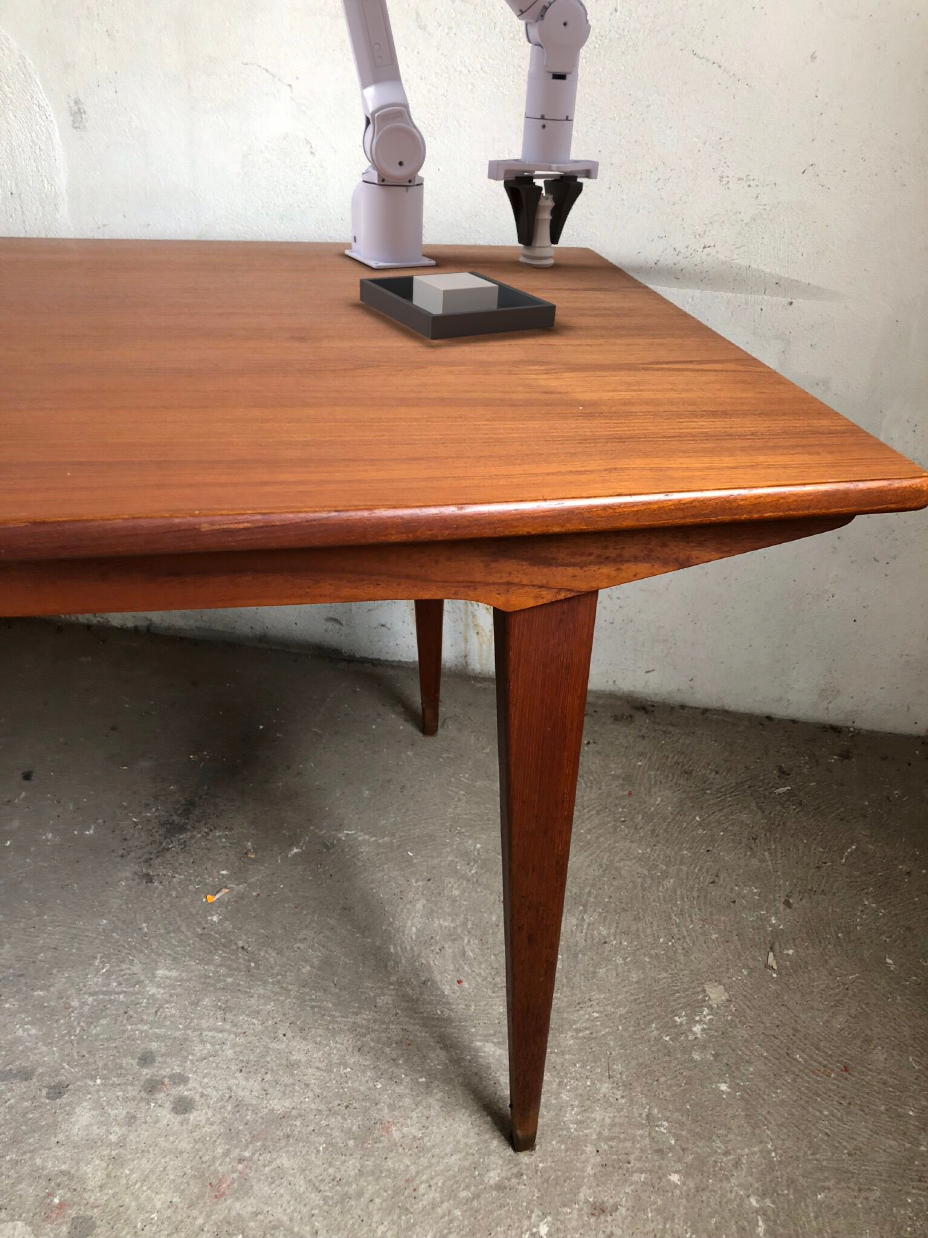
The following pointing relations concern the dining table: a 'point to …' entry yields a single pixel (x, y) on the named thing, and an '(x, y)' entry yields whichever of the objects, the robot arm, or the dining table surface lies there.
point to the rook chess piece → (540, 237)
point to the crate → (509, 316)
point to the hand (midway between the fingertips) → (537, 243)
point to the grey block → (454, 293)
